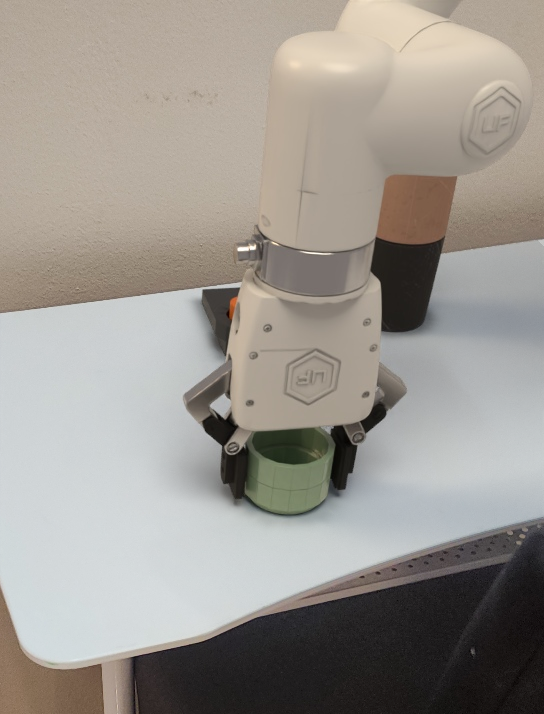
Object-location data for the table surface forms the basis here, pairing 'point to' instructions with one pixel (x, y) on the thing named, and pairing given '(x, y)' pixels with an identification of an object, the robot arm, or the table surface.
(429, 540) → the table surface
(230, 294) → the scale
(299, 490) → the bowl
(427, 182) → the travel mug
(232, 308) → the button
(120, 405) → the table surface
